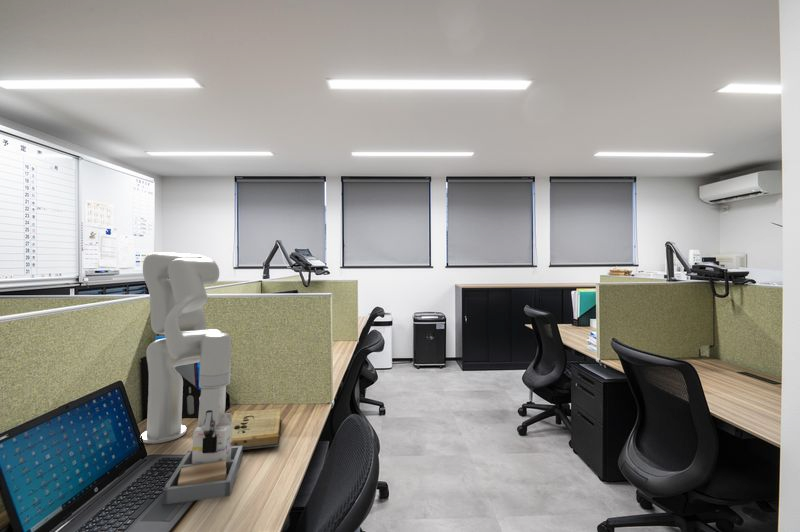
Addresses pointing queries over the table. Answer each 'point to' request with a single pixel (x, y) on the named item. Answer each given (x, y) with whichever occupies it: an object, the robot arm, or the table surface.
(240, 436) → the book
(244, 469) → the table surface
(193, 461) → the ink cartridge box
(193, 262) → the robot arm
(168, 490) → the rack
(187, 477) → the offcut top
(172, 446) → the table surface
